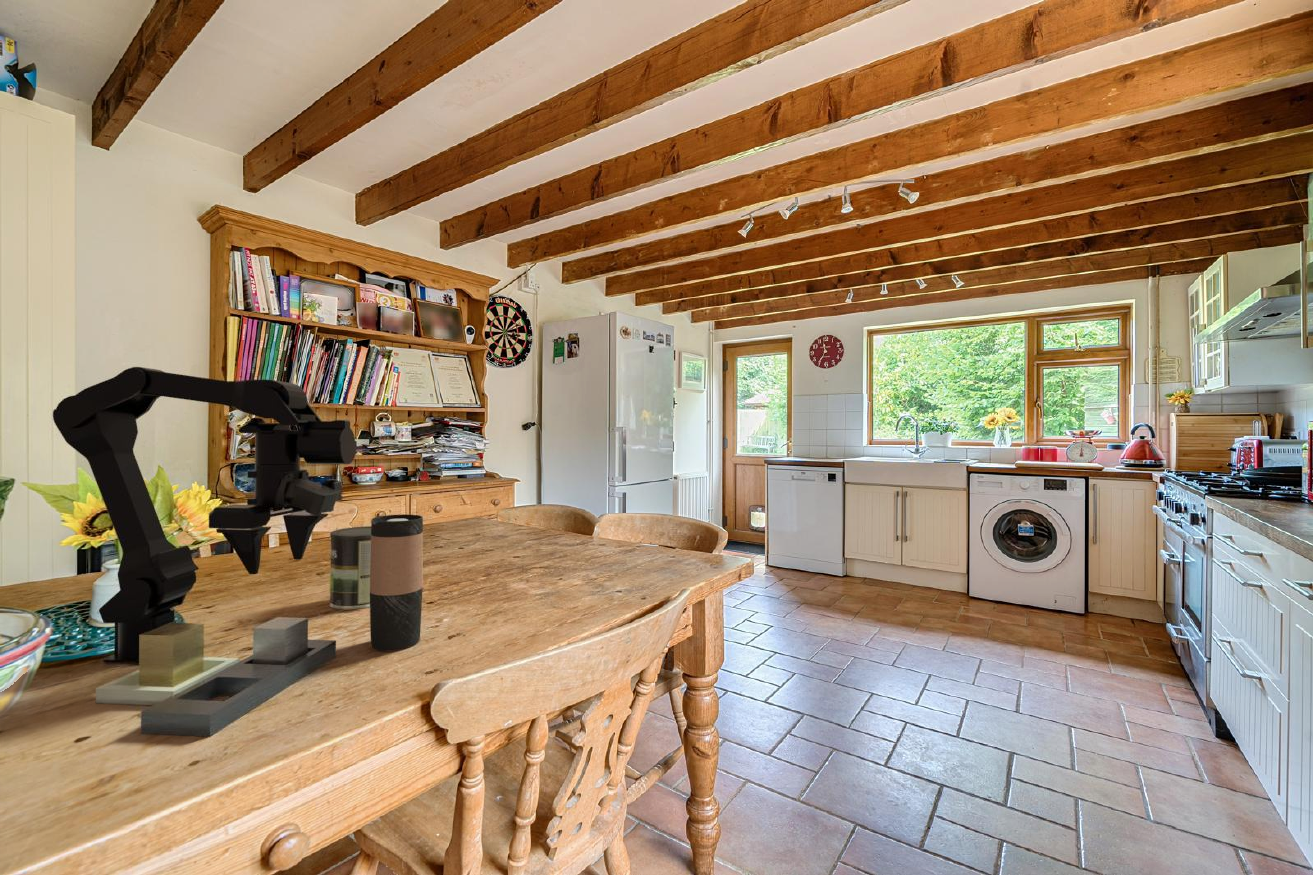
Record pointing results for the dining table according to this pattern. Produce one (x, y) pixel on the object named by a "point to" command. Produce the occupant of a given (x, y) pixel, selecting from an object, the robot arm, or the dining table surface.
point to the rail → (230, 694)
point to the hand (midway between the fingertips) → (276, 566)
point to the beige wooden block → (171, 654)
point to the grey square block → (280, 641)
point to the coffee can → (350, 568)
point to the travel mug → (396, 581)
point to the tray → (132, 693)
